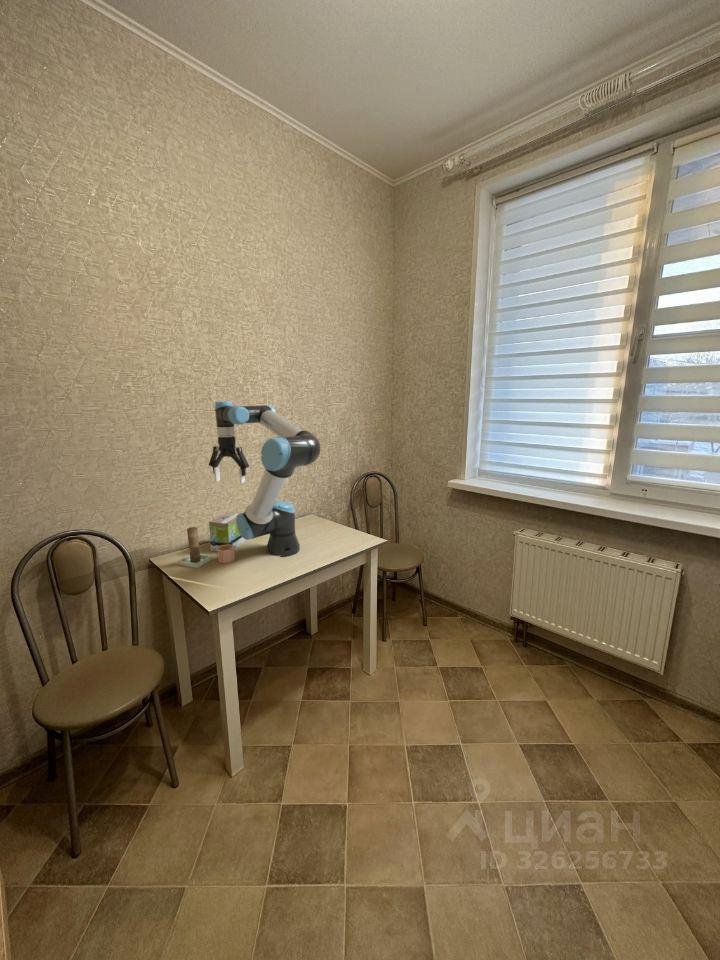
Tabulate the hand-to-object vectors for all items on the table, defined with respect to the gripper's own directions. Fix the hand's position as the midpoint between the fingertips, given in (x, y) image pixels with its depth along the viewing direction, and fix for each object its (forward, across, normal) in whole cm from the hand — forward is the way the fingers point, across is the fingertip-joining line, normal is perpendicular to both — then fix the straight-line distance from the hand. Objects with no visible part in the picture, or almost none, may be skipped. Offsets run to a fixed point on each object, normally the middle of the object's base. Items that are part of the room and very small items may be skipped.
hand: (230, 481), depth 177 cm
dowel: (+31, +4, +22) cm, 38 cm away
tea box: (+32, +2, +2) cm, 32 cm away
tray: (+32, +4, +22) cm, 39 cm away
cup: (+32, -7, +16) cm, 36 cm away
